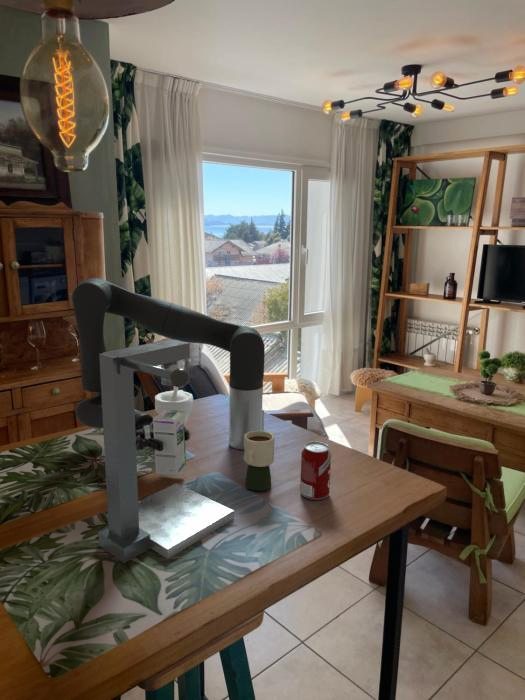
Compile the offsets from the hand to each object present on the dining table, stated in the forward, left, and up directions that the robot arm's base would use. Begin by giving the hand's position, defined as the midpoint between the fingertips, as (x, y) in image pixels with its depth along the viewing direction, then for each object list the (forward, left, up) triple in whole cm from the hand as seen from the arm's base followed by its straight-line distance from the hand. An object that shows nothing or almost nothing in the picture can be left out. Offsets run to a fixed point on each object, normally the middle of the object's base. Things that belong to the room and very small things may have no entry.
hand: (175, 441), depth 123 cm
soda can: (-17, +29, -10) cm, 35 cm away
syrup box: (0, -2, -8) cm, 9 cm away
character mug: (-11, +17, -10) cm, 23 cm away
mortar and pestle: (-23, -27, -10) cm, 37 cm away
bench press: (+15, +17, -10) cm, 25 cm away
